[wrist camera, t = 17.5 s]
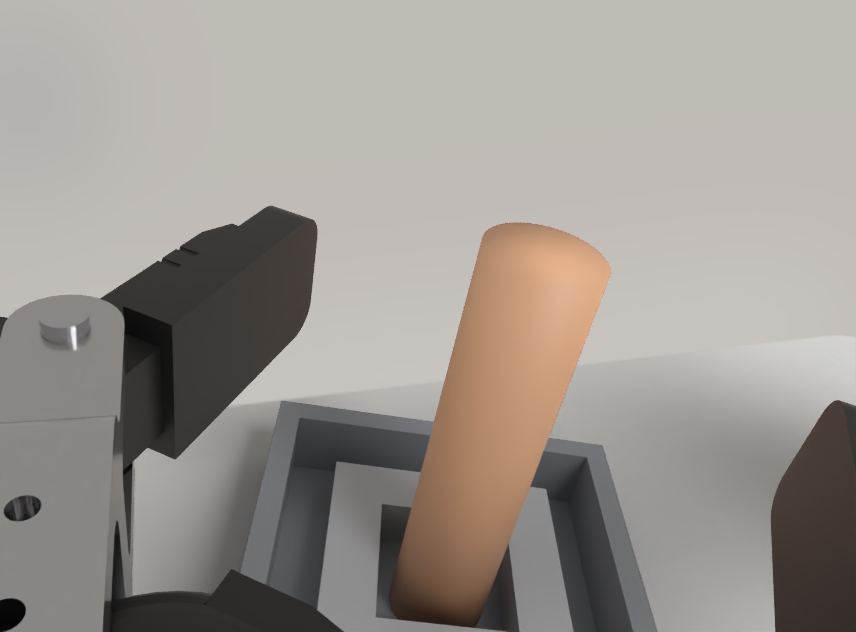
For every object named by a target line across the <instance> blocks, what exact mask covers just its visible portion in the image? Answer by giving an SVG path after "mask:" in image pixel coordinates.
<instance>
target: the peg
mask: <svg viewBox="0 0 856 632" xmlns="http://www.w3.org/2000/svg"><path fill="white" fill-rule="evenodd" d="M610 274H611V268H610V265H609V263H608V261H607V260H606V259H605V257H604V256H603V255H602V254H601V253H600V252H599V251H598V250H597V249H595V248H594V247H593V246H591V245H589V244H588V243H587V242H585V241H583V240H581V239H579V238H578V237H576V236H573V235H571V234H569V233H566V232H563V231H561V230H558V229H554V228H551V227H546V226H543V225H537V224H531V223H505V224H500V225H496V226H494V227H492V228H490V229H488V230H487V231H486V232H485V233H484V235H483V238H482V241H481V245H480V249H479V253H478V256H477V260H476V264H475V268H474V271H473V275H472V279H471V283H470V287H469V291H468V295H467V298H466V302H465V306H464V310H463V313H462V317H461V321H460V325H459V329H458V332H457V337H456V340H455V344H454V348H453V352H452V355H451V359H450V363H449V367H448V371H447V374H446V378H445V382H444V386H443V390H442V393H441V397H440V401H439V405H438V409H437V412H436V416H435V420H434V424H433V428H432V432H431V435H430V439H429V443H428V447H427V451H426V454H425V458H424V462H423V466H422V470H421V473H420V477H419V481H418V485H417V489H416V492H415V496H414V500H413V504H412V508H411V512H410V515H409V519H408V523H407V527H406V531H405V534H404V538H403V542H402V546H401V550H400V553H399V557H398V561H397V565H396V569H395V573H394V576H393V580H392V584H391V588H390V603H391V607H392V610H393V612H394V614H395V616H396V617H397V619H398V620H405V621H414V622H423V623H433V624H442V625H451V626H460V627H469V628H475V627H476V625H477V624H478V622H479V620H480V617H481V614H482V612H483V609H484V606H485V604H486V601H487V599H488V596H489V593H490V591H491V588H492V585H493V583H494V580H495V578H496V575H497V572H498V570H499V567H500V564H501V562H502V559H503V557H504V554H505V551H506V549H507V546H508V543H509V541H510V538H511V536H512V533H513V530H514V528H515V525H516V522H517V520H518V517H519V514H520V512H521V509H522V507H523V504H524V501H525V499H526V496H527V493H528V491H529V488H530V486H531V483H532V480H533V478H534V475H535V472H536V470H537V467H538V465H539V462H540V459H541V457H542V454H543V451H544V449H545V446H546V444H547V441H548V438H549V436H550V433H551V430H552V428H553V425H554V423H555V420H556V417H557V415H558V412H559V409H560V407H561V404H562V402H563V399H564V396H565V394H566V391H567V388H568V386H569V383H570V381H571V378H572V375H573V373H574V370H575V367H576V365H577V362H578V359H579V357H580V354H581V351H582V349H583V346H584V344H585V341H586V338H587V336H588V333H589V331H590V328H591V325H592V322H593V320H594V317H595V315H596V312H597V309H598V307H599V304H600V302H601V299H602V296H603V294H604V291H605V289H606V286H607V283H608V280H609V278H610Z"/></svg>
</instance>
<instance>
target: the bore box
mask: <svg viewBox="0 0 856 632" xmlns="http://www.w3.org/2000/svg"><path fill="white" fill-rule="evenodd" d="M433 424H434V422H431V421H423V420H416V419H409V418H402V417H395V416H388V415H380V414H373V413H366V412H359V411H352V410H345V409H337V408H330V407H323V406H316V405H309V404H302V403H294V402H287V401H281V404H280V408H279V413H278V417H277V421H276V425H275V429H274V433H273V438H272V442H271V446H270V450H269V454H268V458H267V462H266V467H265V471H264V475H263V479H262V483H261V487H260V491H259V496H258V500H257V504H256V508H255V512H254V516H253V521H252V525H251V529H250V533H249V537H248V541H247V545H246V550H245V554H244V558H243V562H242V566H241V570H240V573H241V574H243V575H245V576H248V577H250V578H252V579H254V580H256V581H259V582H261V583H263V584H265V585H267V586H270V587H272V588H274V589H276V590H278V591H281V592H283V593H285V594H287V595H289V596H291V597H294V598H296V599H298V600H300V601H302V602H305V603H307V604H309V605H311V606H313V607H314V608H315V609H317V610H318V611H319V612H320V613H322V614H323V615H324V616H325V617H327V618H328V619H329V620H330V621H331V622H333V623H334V624H335V625H336V626H338V627H339V628H340V629H341V630H343V631H344V632H657V629H656V626H655V622H654V619H653V615H652V612H651V609H650V605H649V602H648V599H647V595H646V592H645V588H644V585H643V582H642V578H641V575H640V571H639V568H638V565H637V561H636V558H635V554H634V551H633V548H632V544H631V541H630V538H629V534H628V531H627V527H626V524H625V521H624V517H623V514H622V510H621V507H620V504H619V500H618V497H617V493H616V490H615V487H614V483H613V480H612V476H611V473H610V470H609V466H608V463H607V460H606V456H605V453H604V449H603V446H602V445H596V444H588V443H581V442H574V441H567V440H560V439H552V438H548V441H547V444H546V446H545V449H544V451H543V454H542V457H541V459H540V462H539V465H538V467H537V470H536V472H535V475H534V478H533V480H532V483H531V486H530V488H529V491H528V493H527V496H526V499H525V501H524V504H523V507H522V509H521V512H520V514H519V517H518V520H517V522H516V525H515V528H514V530H513V533H512V536H511V538H510V541H509V543H508V546H507V549H506V551H505V554H504V557H503V559H502V562H501V564H500V567H499V570H498V572H497V575H496V578H495V580H494V583H493V585H492V588H491V591H490V593H489V596H488V599H487V601H486V604H485V606H484V609H483V612H482V614H481V617H480V620H479V622H478V624H477V625H476V627H475V628H469V627H460V626H451V625H442V624H433V623H423V622H414V621H405V620H398V619H397V617H396V616H395V614H394V612H393V610H392V607H391V603H390V588H391V584H392V580H393V576H394V573H395V569H396V565H397V561H398V557H399V553H400V550H401V546H402V542H403V538H404V534H405V531H406V527H407V523H408V519H409V515H410V512H411V508H412V504H413V500H414V496H415V492H416V489H417V485H418V481H419V477H420V473H421V470H422V466H423V462H424V458H425V454H426V451H427V447H428V443H429V439H430V435H431V432H432V428H433Z"/></svg>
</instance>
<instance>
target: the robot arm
mask: <svg viewBox="0 0 856 632" xmlns="http://www.w3.org/2000/svg"><path fill="white" fill-rule="evenodd" d="M316 243H317V225H316V223H315V221H314V220H312V219H309V218H306V217H303V216H301V215H297V214H295V213H292V212H289V211H285V210H283V209H280V208H277V207H274V206H268V207H266V208H264V209H263V210H261V211H260V212H259V213H257V214H256V215H254V216H253V217H251V218H250V219H249V220H247V221H245V222H244V223H243V224H241V225H240V226H237V225H234V224H229V225H226V226H223V227H219V228H216V229H212V230H208V231H205V232H202V233H200V234H199V235H197V236H195V237H194V238H192V239H191V240H190V241H188V242H186V243H185V244H183V245H182V246H180V249H179V250H177V249H176V250H174V251H172V252H171V253H169V254H168V255H167V256H165V257H163V259H162V261H161V262H160V261H157V262H156V263H154V264H153V265H151V266H150V267H148V268H146V269H145V270H143V271H142V272H140V273H139V274H137V275H136V276H134V277H133V278H131V279H130V280H128V281H127V282H125V283H123V284H122V285H120V286H119V287H117V288H116V289H114V290H113V291H112V292H110V293H108V294H107V295H105V296H104V297H102V298H101V299H99V298H94V297H90V296H83V295H60V296H52V297H47V298H43V299H39V300H36V301H34V302H31V303H29V304H27V305H24V306H23V307H21V308H19V309H18V310H16V311H15V312H14V313H13V314H11V315H10V316H9V318H5V317H0V632H344V631H343V630H341V629H340V628H339V627H338V626H336V625H335V624H334V623H333V622H331V621H330V620H329V619H328V618H327V617H325V616H324V615H323V614H322V613H320V612H319V611H318V610H317V609H315V608H314V607H313V606H311V605H309V604H307V603H305V602H302V601H300V600H298V599H296V598H294V597H291V596H289V595H287V594H285V593H283V592H281V591H278V590H276V589H274V588H272V587H270V586H267V585H265V584H263V583H261V582H259V581H256V580H254V579H252V578H250V577H248V576H245V575H243V574H241V573H239V572H237V571H235V570H232V569H231V570H230V572H229V573H228V574H227V576H226V577H225V578H224V580H223V581H222V582H221V584H220V585H219V586H218V588H217V589H216V591H215V592H214V593H213V594H209V593H203V592H188V591H171V592H155V593H148V594H142V595H135V596H133V595H132V565H133V523H134V482H135V470H134V460H135V459H136V458H137V457H138V456H139V455H140V454H141V453H142V452H143V451H144V450H145V449H146V448H147V447H148V448H150V449H152V450H154V451H157V452H159V453H161V454H164V455H166V456H168V457H171V458H173V459H176V458H177V457H178V456H179V455H180V454H181V453H182V452H183V451H184V450H185V449H186V448H187V447H188V446H189V445H190V444H191V443H192V442H193V441H194V440H195V439H196V438H197V437H198V436H199V435H200V434H201V433H202V432H203V431H204V430H205V429H206V428H207V427H208V426H209V425H210V424H211V423H212V422H213V421H214V420H215V419H216V418H217V417H218V416H219V414H220V413H221V412H222V411H223V410H224V409H225V408H226V407H227V406H228V405H229V404H230V403H231V402H232V401H233V400H234V399H235V398H236V397H237V396H238V395H239V394H240V393H241V392H242V391H243V390H244V389H245V388H246V387H247V386H248V385H249V384H250V383H251V382H252V381H253V380H254V379H255V378H256V377H257V375H259V373H260V372H262V371H263V369H264V368H265V367H266V366H267V365H268V364H269V363H270V362H271V361H272V360H273V359H274V358H275V357H276V356H277V355H278V354H279V353H280V352H281V351H282V350H283V349H284V348H285V347H286V346H287V345H288V344H289V343H290V342H291V341H292V340H293V339H294V338H295V337H296V335H297V334H298V333H299V331H300V330H301V328H302V326H303V324H304V322H305V319H306V317H307V314H308V310H309V307H310V302H311V293H312V283H313V273H314V263H315V253H316ZM771 535H772V559H773V584H774V608H775V632H856V406H854V405H851V404H848V403H845V402H842V401H839V400H836V401H834V402H832V403H831V404H830V405H829V406H828V407H827V408H826V409H825V411H824V412H823V414H822V415H821V417H820V418H819V420H818V422H817V423H816V425H815V426H814V428H813V430H812V431H811V433H810V434H809V436H808V437H807V439H806V441H805V442H804V444H803V445H802V447H801V449H800V450H799V452H798V453H797V455H796V457H795V458H794V460H793V461H792V463H791V465H790V466H789V468H788V469H787V471H786V472H785V474H784V476H783V478H782V479H781V481H780V483H779V486H778V488H777V491H776V494H775V497H774V501H773V505H772V511H771Z"/></svg>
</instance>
